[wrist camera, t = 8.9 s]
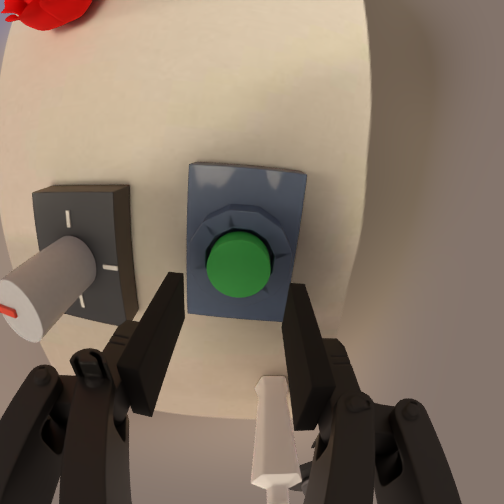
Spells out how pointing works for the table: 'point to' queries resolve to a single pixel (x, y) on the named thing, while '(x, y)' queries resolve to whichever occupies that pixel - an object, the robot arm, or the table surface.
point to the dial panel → (93, 244)
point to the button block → (245, 220)
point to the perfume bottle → (274, 442)
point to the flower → (45, 12)
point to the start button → (239, 264)
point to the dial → (46, 287)
